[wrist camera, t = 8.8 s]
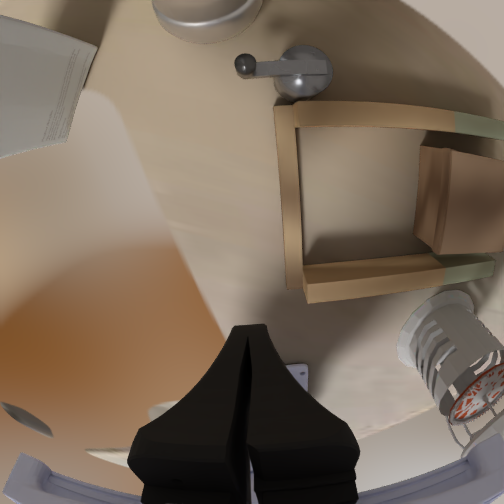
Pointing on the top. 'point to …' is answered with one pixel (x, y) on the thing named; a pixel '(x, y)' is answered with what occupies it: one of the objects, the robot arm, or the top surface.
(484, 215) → the box
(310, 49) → the crank handle cylinder
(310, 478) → the robot arm
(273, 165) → the top surface
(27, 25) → the skincare box
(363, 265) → the bay
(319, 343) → the top surface
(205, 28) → the silver metal bottle
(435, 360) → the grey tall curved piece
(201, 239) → the top surface
